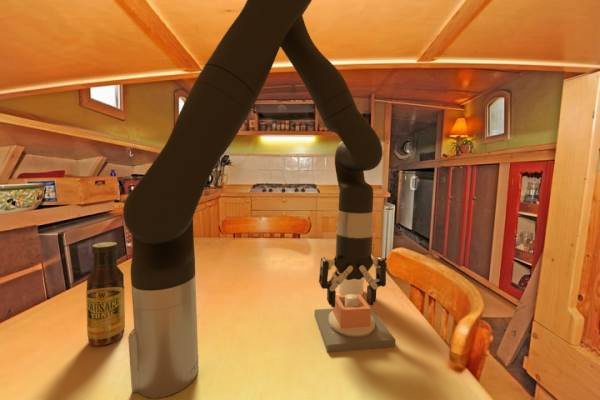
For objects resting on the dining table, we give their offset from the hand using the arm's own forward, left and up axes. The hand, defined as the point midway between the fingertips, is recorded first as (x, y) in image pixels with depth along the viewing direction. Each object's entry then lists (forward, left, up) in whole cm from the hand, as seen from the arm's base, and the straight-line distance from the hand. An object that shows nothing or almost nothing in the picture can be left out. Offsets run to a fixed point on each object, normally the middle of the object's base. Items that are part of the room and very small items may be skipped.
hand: (351, 304), depth 57 cm
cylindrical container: (+6, +18, -6) cm, 20 cm away
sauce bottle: (-51, +3, -6) cm, 51 cm away
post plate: (0, 0, -6) cm, 6 cm away
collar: (0, 0, -3) cm, 3 cm away
